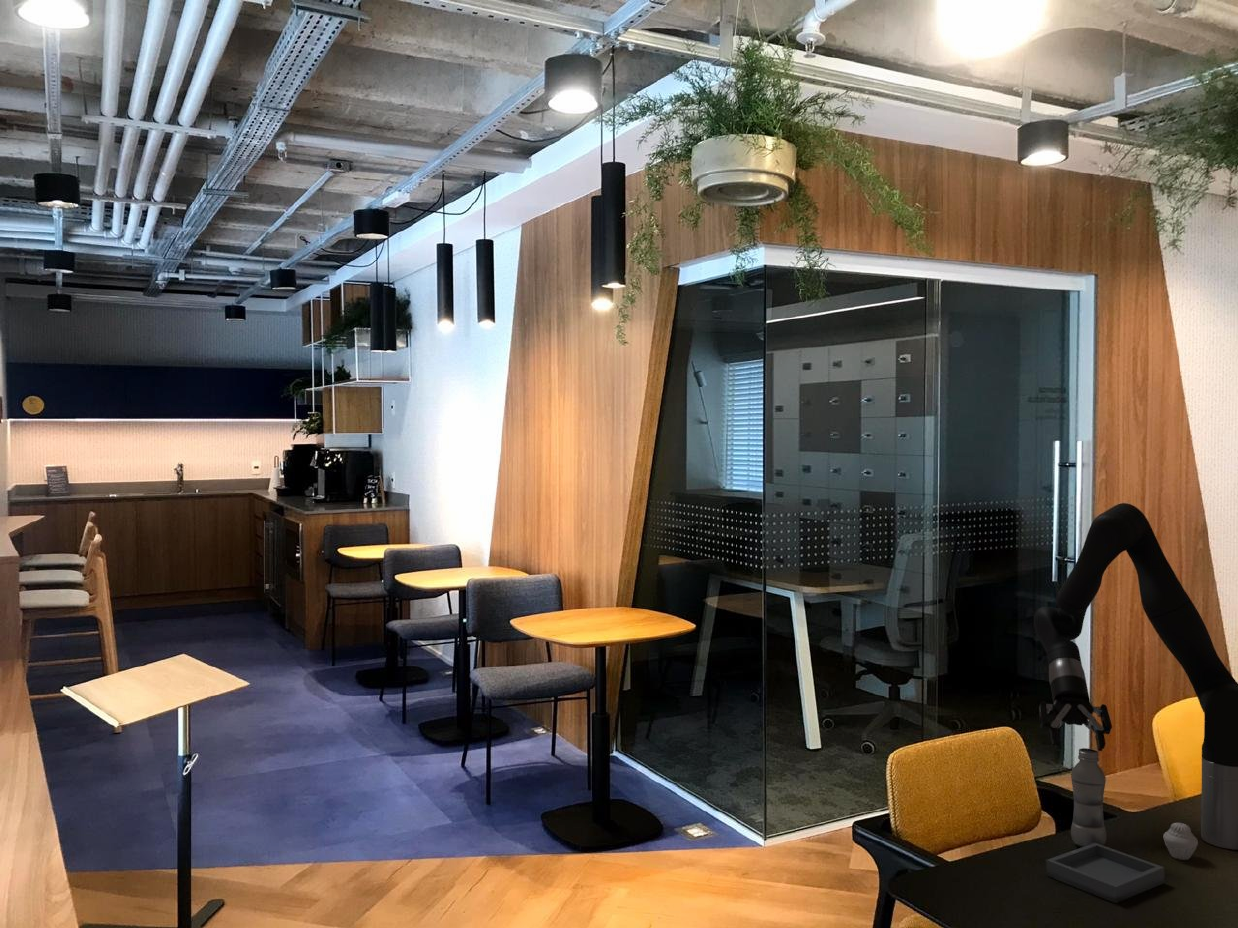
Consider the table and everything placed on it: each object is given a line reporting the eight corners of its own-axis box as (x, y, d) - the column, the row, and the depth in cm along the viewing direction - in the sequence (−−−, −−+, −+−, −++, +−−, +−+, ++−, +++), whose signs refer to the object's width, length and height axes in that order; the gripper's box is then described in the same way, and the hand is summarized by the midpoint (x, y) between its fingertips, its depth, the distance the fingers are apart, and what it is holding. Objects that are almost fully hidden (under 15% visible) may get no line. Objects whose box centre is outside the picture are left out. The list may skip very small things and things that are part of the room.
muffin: (1157, 855, 200) (1157, 821, 200) (1171, 848, 204) (1171, 814, 204) (1189, 865, 195) (1190, 830, 195) (1203, 858, 199) (1203, 823, 199)
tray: (1095, 857, 199) (1095, 842, 199) (1164, 882, 187) (1164, 867, 187) (1046, 875, 191) (1046, 859, 191) (1115, 903, 179) (1115, 886, 179)
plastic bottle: (1110, 853, 201) (1110, 756, 201) (1074, 851, 202) (1075, 754, 202) (1101, 841, 207) (1102, 747, 207) (1067, 839, 209) (1067, 745, 208)
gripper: (1036, 672, 223) (1046, 736, 212) (1105, 675, 220) (1118, 741, 208) (1032, 690, 228) (1041, 754, 217) (1099, 693, 225) (1111, 758, 214)
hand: (1079, 747), depth 213 cm, fingers open, 8 cm apart
